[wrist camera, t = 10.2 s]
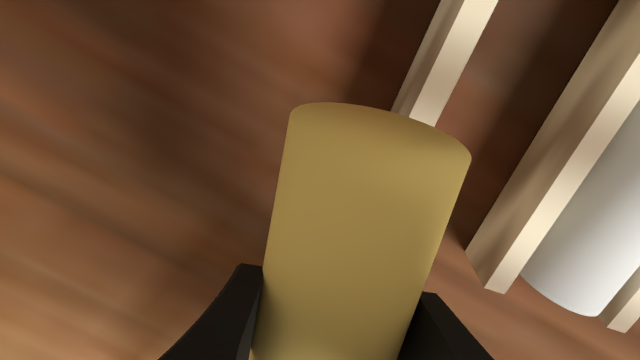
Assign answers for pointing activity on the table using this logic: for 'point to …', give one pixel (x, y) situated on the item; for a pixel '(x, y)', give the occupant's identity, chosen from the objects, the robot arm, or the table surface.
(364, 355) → the pale yellow cylinder
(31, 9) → the table surface
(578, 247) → the tall white tube
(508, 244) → the rack
